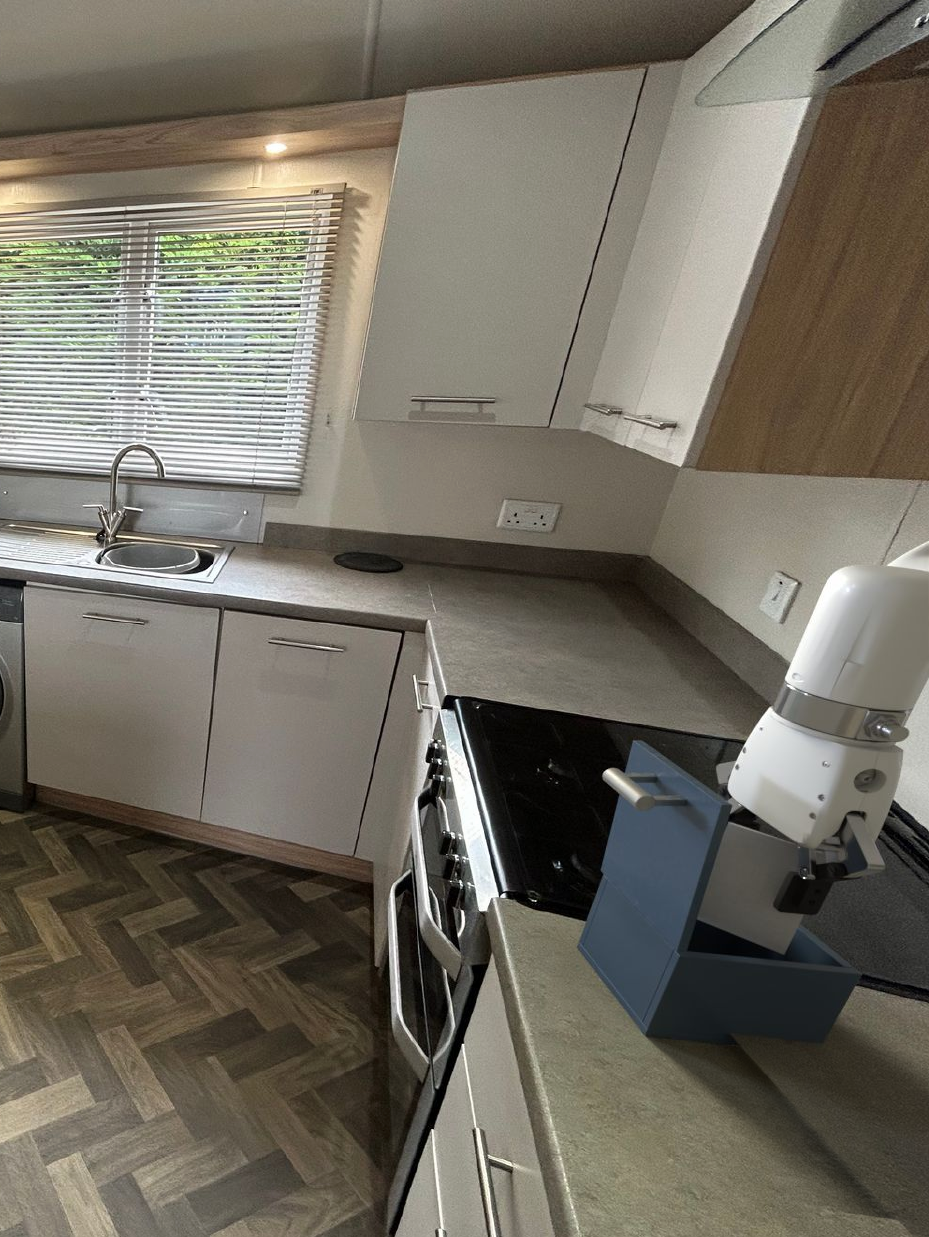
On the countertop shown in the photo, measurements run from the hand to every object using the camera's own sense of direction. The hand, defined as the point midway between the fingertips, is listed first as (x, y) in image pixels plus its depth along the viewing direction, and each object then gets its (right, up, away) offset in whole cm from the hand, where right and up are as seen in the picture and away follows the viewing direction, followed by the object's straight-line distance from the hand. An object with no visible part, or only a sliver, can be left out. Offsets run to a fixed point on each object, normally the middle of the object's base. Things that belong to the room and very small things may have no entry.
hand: (758, 881), depth 68 cm
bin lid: (-9, +4, 0) cm, 10 cm away
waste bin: (-2, -13, +6) cm, 15 cm away
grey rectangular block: (0, -5, +2) cm, 5 cm away
